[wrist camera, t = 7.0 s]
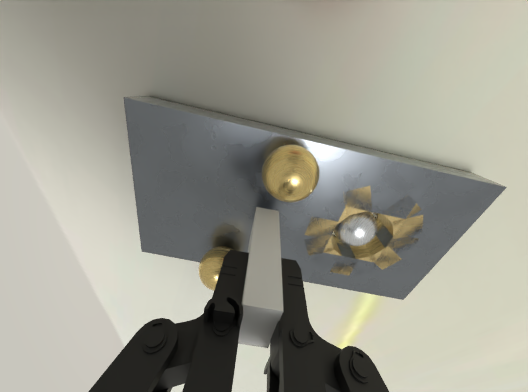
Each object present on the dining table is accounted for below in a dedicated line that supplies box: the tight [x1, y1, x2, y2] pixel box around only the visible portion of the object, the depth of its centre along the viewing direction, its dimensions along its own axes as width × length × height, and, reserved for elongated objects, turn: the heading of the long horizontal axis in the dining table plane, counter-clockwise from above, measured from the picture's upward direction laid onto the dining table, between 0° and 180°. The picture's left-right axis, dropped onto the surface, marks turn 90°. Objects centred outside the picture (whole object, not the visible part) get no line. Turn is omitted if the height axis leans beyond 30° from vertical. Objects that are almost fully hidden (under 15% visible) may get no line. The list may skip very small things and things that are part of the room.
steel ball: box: [334, 211, 377, 246], centre depth 16 cm, size 3×3×3 cm
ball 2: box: [262, 145, 320, 202], centre depth 11 cm, size 3×3×3 cm
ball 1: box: [199, 246, 233, 290], centre depth 15 cm, size 3×3×3 cm
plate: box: [124, 96, 506, 300], centre depth 16 cm, size 24×12×2 cm, turn 78°
